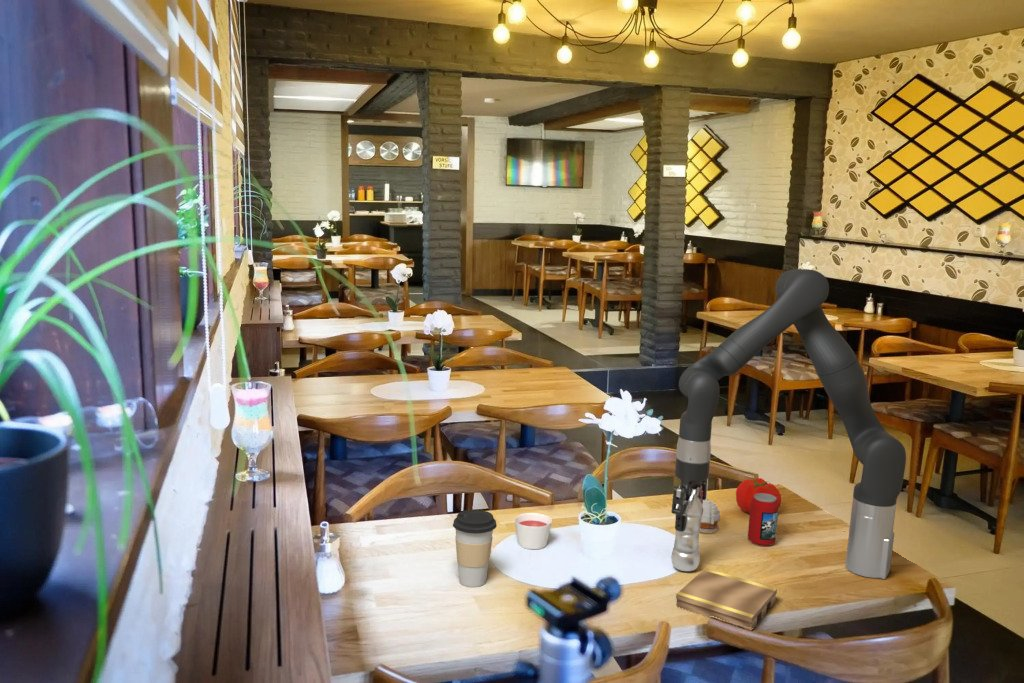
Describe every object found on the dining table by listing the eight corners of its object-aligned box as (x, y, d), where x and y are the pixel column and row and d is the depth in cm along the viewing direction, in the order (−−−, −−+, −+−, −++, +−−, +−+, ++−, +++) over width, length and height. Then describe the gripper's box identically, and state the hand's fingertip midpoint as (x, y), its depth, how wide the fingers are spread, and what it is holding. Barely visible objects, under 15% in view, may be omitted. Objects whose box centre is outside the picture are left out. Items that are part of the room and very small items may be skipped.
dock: (775, 602, 176) (777, 588, 175) (750, 632, 163) (751, 617, 162) (704, 580, 185) (705, 567, 184) (675, 607, 172) (676, 593, 171)
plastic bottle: (702, 566, 192) (709, 484, 188) (693, 577, 186) (700, 493, 183) (676, 560, 195) (682, 479, 192) (666, 570, 189) (672, 487, 186)
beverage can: (769, 550, 203) (773, 503, 201) (743, 542, 207) (747, 497, 205) (779, 542, 208) (783, 496, 206) (753, 534, 212) (757, 490, 210)
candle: (557, 548, 199) (558, 523, 198) (523, 554, 195) (524, 529, 194) (540, 535, 207) (541, 511, 206) (507, 540, 203) (508, 515, 202)
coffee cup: (446, 574, 183) (447, 510, 180) (486, 569, 186) (488, 506, 184) (458, 593, 174) (460, 526, 172) (500, 588, 177) (503, 521, 175)
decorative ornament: (716, 524, 218) (721, 470, 216) (719, 536, 211) (724, 479, 208) (686, 522, 219) (690, 467, 217) (688, 533, 212) (693, 477, 209)
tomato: (774, 523, 220) (777, 493, 219) (728, 513, 227) (730, 483, 225) (785, 509, 231) (788, 480, 230) (741, 500, 237) (743, 471, 236)
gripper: (696, 467, 178) (690, 538, 181) (720, 453, 190) (714, 520, 192) (664, 460, 182) (659, 530, 185) (689, 446, 194) (684, 512, 197)
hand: (687, 524), depth 189 cm, fingers open, 8 cm apart
